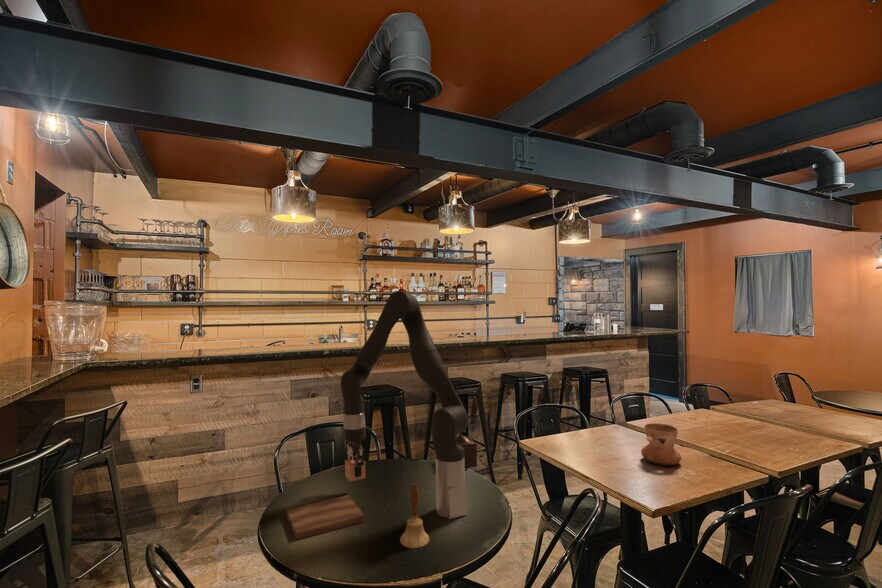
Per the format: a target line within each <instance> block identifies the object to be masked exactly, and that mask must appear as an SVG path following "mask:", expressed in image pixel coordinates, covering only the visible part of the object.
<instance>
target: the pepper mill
mask: <svg viewBox="0 0 882 588" xmlns="http://www.w3.org/2000/svg"><path fill="white" fill-rule="evenodd" d="M456 444H457V445H460V446H462V447H463V448H464V463H465V469H469V468H475V467H478V457H477V456H478V455H477V454H478V453H477V451H478V450H477V448H478V447H477V443H476V441H474V440H473V438H472V437H471V436H470V434H468V435H467V436H466V435H465V434H463V432H461V433H459V435H456Z"/></svg>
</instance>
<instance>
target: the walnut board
mask: <svg viewBox="0 0 882 588" xmlns="http://www.w3.org/2000/svg"><path fill="white" fill-rule="evenodd" d="M286 518H287V521H288V522H290V523H289V524H290V525H289V526H290V528H291V527H292V528H291V530H292V533H293V532H294V533H293V535H294V538H295V537H296V538H295V540H296V539H299V540H301V539H300V538H302V539H306V538H309V536H310V537H313V536H315V535H316V536H317V535H321V534H324V533H328V532H331V531H335V530H338V529H342V528H346V527H350V526H353V525H357V524H361V523H363V522H365V514H364V513H363V512H362V510H361V509H360V508H359V506H358V505H357V504H356V502H355V501H354V500H353V499H352V497H351V496H350V495H349V494H347V495H342V496H339V497H334V498H329V499H326V500H322V501H317V502H312V503H309V504H304V505H301V506H296V507H292V508H287V509H286ZM305 537H306V538H305Z"/></svg>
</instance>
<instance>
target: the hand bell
mask: <svg viewBox="0 0 882 588" xmlns="http://www.w3.org/2000/svg"><path fill="white" fill-rule="evenodd" d="M419 498H420V492H419V487H418V484H417V482H412V483H411V486H410V490H409V500H410V503H411V517H410V518H408V519H407V520H406V526H405V531H404V532H403V533H402V534H401V536H400V539H399V543H400V544H401V545H402V546H403V547H405V548H408V549H419V548H423V547H425V546H427V545H428V544H429V542H430V537H429V534H428V533H426V531H425V528H424V524H423V522H424V521H423V520H422V518H421V517H419V516H418V514H419V513H418V504H419V501H420V500H419Z"/></svg>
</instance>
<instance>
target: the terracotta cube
mask: <svg viewBox="0 0 882 588" xmlns="http://www.w3.org/2000/svg"><path fill="white" fill-rule="evenodd" d="M359 462H360V461H359ZM344 467H345V468H344V469H345V472H344V473H345V477H346V478H347V480H349V482H353V481H358V480H362V479H366V461H365V460H364V465H362V466H361V477H357V478H356V477H355V466H354V460H352V459H349V460H348V459H345V460H344Z"/></svg>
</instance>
